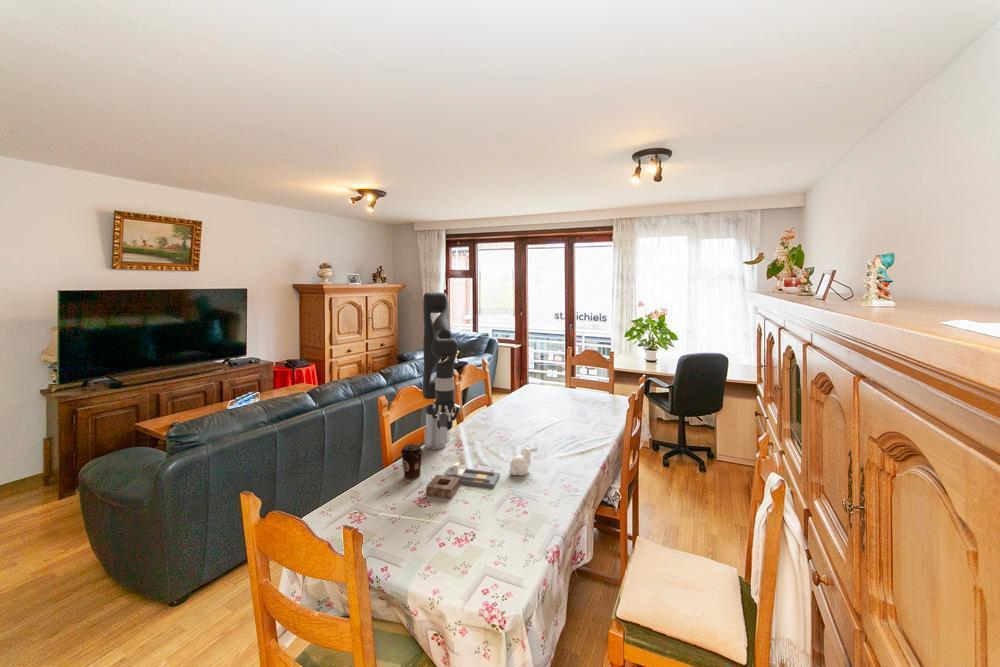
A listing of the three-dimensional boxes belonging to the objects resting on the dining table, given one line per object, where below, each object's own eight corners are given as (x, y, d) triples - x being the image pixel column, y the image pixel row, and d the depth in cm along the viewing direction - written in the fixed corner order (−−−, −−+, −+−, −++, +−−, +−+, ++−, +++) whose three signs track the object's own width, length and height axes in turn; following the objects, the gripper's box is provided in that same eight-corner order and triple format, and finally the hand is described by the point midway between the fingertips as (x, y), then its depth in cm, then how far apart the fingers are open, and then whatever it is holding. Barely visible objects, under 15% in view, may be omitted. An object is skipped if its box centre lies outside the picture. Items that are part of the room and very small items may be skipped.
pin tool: (439, 443, 175) (439, 414, 173) (442, 440, 178) (442, 412, 176) (447, 444, 174) (447, 415, 172) (450, 441, 177) (450, 412, 176)
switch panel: (440, 482, 173) (440, 475, 173) (449, 471, 183) (449, 464, 182) (493, 489, 168) (493, 481, 167) (499, 477, 177) (499, 470, 177)
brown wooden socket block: (426, 496, 162) (426, 486, 161) (436, 484, 171) (436, 474, 171) (451, 499, 159) (451, 489, 159) (460, 487, 169) (460, 477, 168)
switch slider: (452, 475, 174) (452, 466, 174) (456, 470, 179) (456, 461, 179) (461, 476, 173) (461, 467, 173) (465, 471, 178) (465, 462, 178)
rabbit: (522, 465, 190) (523, 439, 188) (539, 472, 183) (540, 445, 182) (504, 474, 181) (504, 447, 179) (521, 481, 174) (521, 453, 173)
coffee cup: (403, 483, 172) (402, 452, 170) (399, 474, 179) (398, 444, 177) (424, 479, 175) (424, 449, 173) (420, 471, 183) (419, 441, 181)
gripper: (424, 388, 171) (425, 430, 173) (458, 391, 168) (458, 433, 170) (432, 384, 178) (432, 424, 181) (464, 386, 175) (464, 427, 177)
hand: (445, 428), depth 175 cm, fingers closed on pin tool, 3 cm apart
